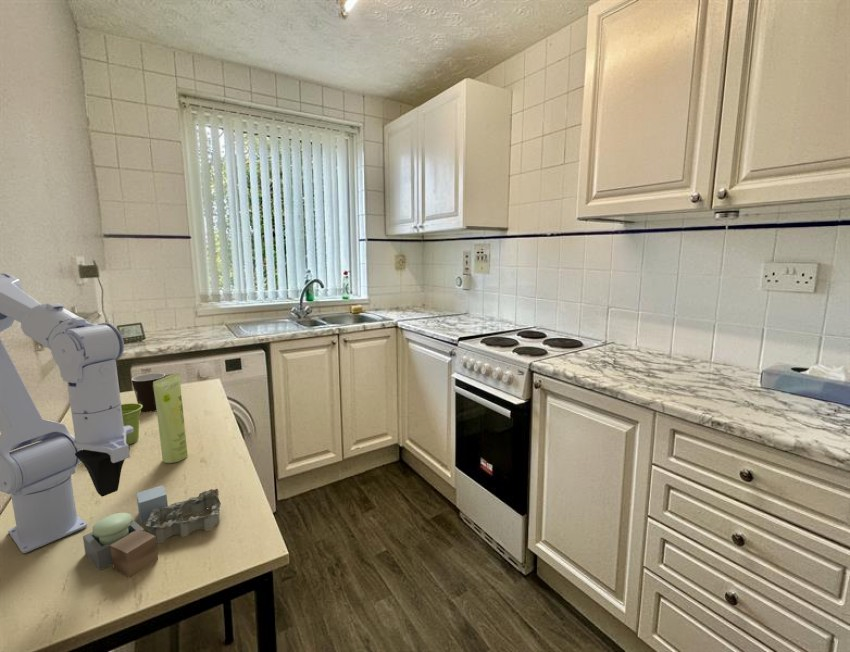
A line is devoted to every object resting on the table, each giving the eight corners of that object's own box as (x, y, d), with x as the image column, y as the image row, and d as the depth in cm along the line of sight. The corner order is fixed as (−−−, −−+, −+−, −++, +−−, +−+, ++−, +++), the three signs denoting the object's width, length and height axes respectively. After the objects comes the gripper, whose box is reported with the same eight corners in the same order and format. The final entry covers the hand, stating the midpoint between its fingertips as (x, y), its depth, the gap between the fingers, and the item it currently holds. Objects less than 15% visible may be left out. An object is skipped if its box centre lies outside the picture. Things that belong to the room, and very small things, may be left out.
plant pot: (90, 448, 99) (85, 414, 97) (128, 432, 108) (124, 401, 106) (118, 453, 96) (113, 418, 95) (155, 437, 105) (151, 404, 103)
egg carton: (222, 507, 75) (221, 486, 74) (219, 531, 68) (217, 509, 68) (155, 520, 71) (152, 499, 70) (144, 548, 64) (141, 524, 64)
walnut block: (113, 570, 59) (110, 545, 59) (141, 552, 63) (139, 528, 62) (130, 578, 58) (126, 553, 57) (158, 560, 61) (155, 536, 61)
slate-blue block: (138, 513, 73) (136, 493, 72) (165, 505, 75) (162, 485, 75) (141, 524, 70) (139, 503, 69) (168, 515, 72) (166, 494, 72)
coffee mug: (141, 405, 128) (137, 374, 127) (172, 402, 131) (168, 372, 130) (126, 418, 118) (122, 385, 116) (160, 414, 120) (157, 382, 119)
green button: (91, 550, 63) (87, 524, 62) (127, 533, 67) (124, 509, 66) (103, 563, 60) (99, 536, 59) (140, 545, 64) (136, 519, 63)
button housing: (85, 553, 63) (82, 536, 62) (130, 532, 67) (128, 516, 67) (100, 570, 59) (97, 551, 59) (146, 546, 64) (144, 529, 64)
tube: (188, 460, 92) (180, 377, 89) (162, 467, 89) (152, 381, 86) (187, 451, 97) (179, 371, 94) (161, 457, 94) (152, 375, 91)
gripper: (149, 408, 59) (158, 495, 61) (110, 391, 67) (119, 468, 69) (88, 424, 53) (101, 519, 55) (54, 403, 61) (66, 486, 63)
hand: (108, 492), depth 62 cm, fingers closed
